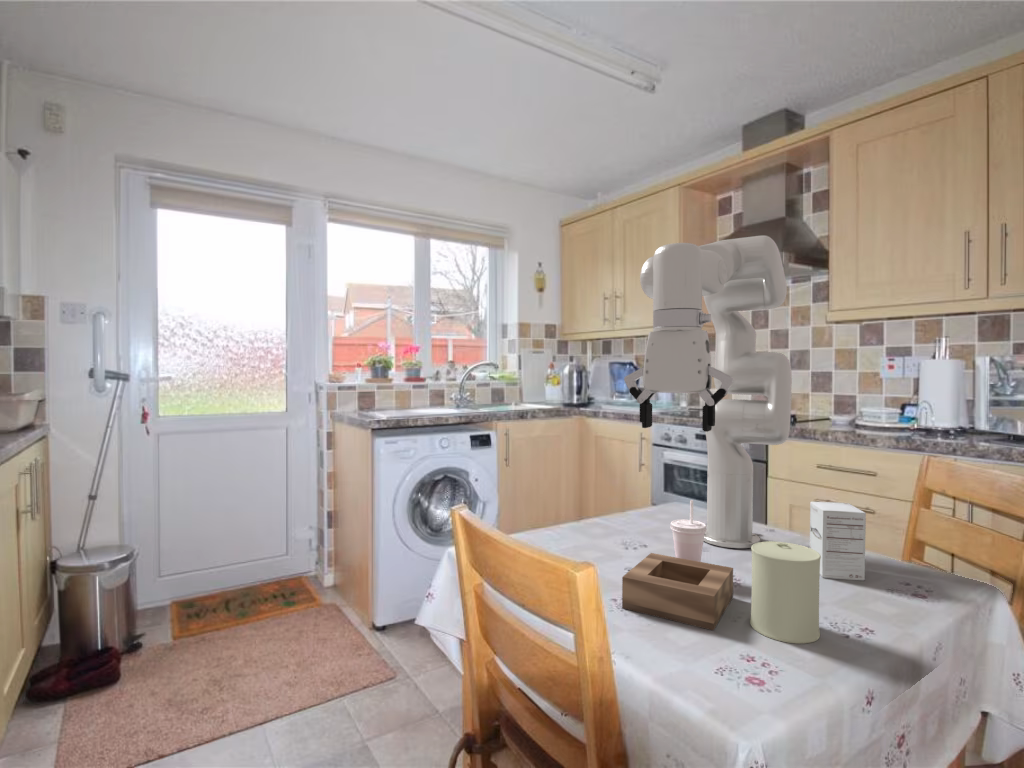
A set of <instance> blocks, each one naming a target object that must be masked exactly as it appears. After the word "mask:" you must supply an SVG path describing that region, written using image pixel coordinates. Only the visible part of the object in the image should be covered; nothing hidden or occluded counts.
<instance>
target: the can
mask: <svg viewBox="0 0 1024 768" xmlns="http://www.w3.org/2000/svg"><path fill="white" fill-rule="evenodd" d="M750 549H751V602H750V603H751V608H750V619H749V623H750V624H749V625H750V626H751V627H752V629H753V630H754V631H755V632H757V633H759V634H760V635H762V636H764V637H767V638H769V639H772V640H774V641H779V642H782V643H783V642H784V643H786V644H787V643H789V644H797V645H798V644H800V645H801V644H804V645H805V644H812V643H814V642H817V641H818V640H819V639H820V638H821V631H820V576H821V575H820V559H821V555H820V554H819V553H818V552H817V551H815V550H813V549H811V548H810V547H808V546H804V545H800V544H797V543H791V542H786V541H769V540H768V541H767V540H766V541H760V542H758V543H755V544H753V545H752V547H751V548H750Z"/></svg>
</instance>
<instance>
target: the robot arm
mask: <svg viewBox="0 0 1024 768" xmlns="http://www.w3.org/2000/svg"><path fill="white" fill-rule="evenodd" d="M784 269H785V268H784V267H783V262H782V256H781V253H780V249H779V247H778V245H777V243H776V242H775V240H774V239H773V238H771V237H770V236H768V235H755V236H748V237H747V236H745V237H739V238H738V237H737V238H730V239H729V238H728V239H722V240H718V241H714V242H711V243H706V244H702V245H697V244H695V243H690V242H674V243H667V244H664V245H661V246H659V247H658V248H657V249H656V250H655V251H654V254H653V256H650V257H649V258H647V259H646V261H645V262H644V263H643V264H642V266H641V270H640V275H639V281H640V286H641V290H642V291H643V293H644V294H645V296H646V297H648V298H649V299H652V331H649V332H648V335H647V341H646V346H645V353H644V363H643V367H641V368H639V369H637V370H635V371H633V372H631V373H629V374H628V375H626V376H624V379H623V380H624V383H625V384H626V386H627V388H628V391H629V393H630V394H631V396H632V397H633V398H634V399H635V400H636V403H638V404H639V423H641V428H642V429H647V428H651V427H652V426H653V404H652V402H651V399H652V398H653V397H654V396H655V395H656V394H657V393H660V394H661V393H664V394H669V393H670V394H698V396H699V397H700V398H701V400H702V401H703V402H704V405H703V406H702V417H701V418H702V419H701V420H702V423H701V424H702V429H701V430H702V431H703V432H705V438H706V447H707V471H706V472H707V473H706V474H707V477H706V478H707V481H706V482H707V484H706V487H707V489H706V490H707V491H706V493H707V494H706V497H707V498H706V501H707V502H706V503H707V504H706V530H707V531H706V532H705V533H704V541H703V542H705V543H708V544H710V545H713V546H716V547H720V548H728V549H751V547H752V545H753V544H755V543H758V542H761V538H760V536H758V535H757V534H755V533H753V527H754V526H753V522H754V521H753V520H754V518H753V516H754V511H753V510H754V509H753V507H754V506H753V504H754V503H753V502H754V462H753V460H752V457H751V456H750V455H749V453H748V452H747V450H746V449H745V448H744V447H743V445H742V444H750V445H751V444H754V445H767V446H769V445H771V446H778V445H783V444H784V443H785V442H787V440H788V438H789V435H790V431H791V412H792V410H791V409H792V380H793V378H792V376H793V375H792V367H791V366H792V365H791V363H790V360H789V358H788V357H787V356H786V355H785V354H783V353H780V352H775V351H774V352H773V351H761V352H760V351H759V352H758V351H756V349H757V347H756V345H757V344H756V343H757V332H756V329H755V328H754V326H753V325H752V324H751V322H750V321H749V320H748V319H746V317H745V316H743V314H741V313H740V312H741V311H757V310H760V311H761V310H772V309H776V308H779V307H780V306H782V305H783V303H785V301H786V298H787V293H788V292H787V291H788V284H787V279H786V275H785V271H784ZM703 301H704V304H705V307H706V310H707V312H708V313H704V311H703ZM711 322H712V325H713V327H714V331H715V336H716V337H715V351H714V352H715V353H714V367H713V366H712V356H711V355H712V353H711V345H710V339H709V338H710V337H709V334H708V331H707V330H705V329H704V330H703V329H702V328H703V327H704V324H706V323H708V324H709V323H711ZM642 378H643V382H642V383H643V388H644V389H643V391H642V390H641V389H640V388H639V387H638V384H637V380H639V379H642ZM713 382H714V383H713ZM713 384H714V387H715V388H716V390H717V391H715V392H714V393H713V392H712V391H711V389H712V385H713ZM727 395H738V396H739V395H742V396H744V395H746V396H750V395H751V396H764V397H766V398H767V400H762V399H761V400H759V399H757V400H755V399H753V400H752V399H751V400H750V399H737V398H736V399H732V398H731V399H730V398H729V399H727V398H726V399H723V398H725V397H726V396H727Z"/></svg>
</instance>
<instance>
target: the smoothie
mask: <svg viewBox="0 0 1024 768" xmlns="http://www.w3.org/2000/svg"><path fill="white" fill-rule="evenodd" d="M669 528H670V530H672V539H673V547H674V548H673V549H674V555H675V556H674V557H676V558H682V559H687V560H693V561H698V562H702V561H701V560H702V553H703V546H704V542H705V541H704V533H705V532H706V531H707V530H706V529H707V523H704V522H702V521H699V520H694V500H692V499H690V501H689V519H684V518H683V519H674V520H672V521H671V522H670V527H669Z"/></svg>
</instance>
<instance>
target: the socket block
mask: <svg viewBox="0 0 1024 768" xmlns="http://www.w3.org/2000/svg"><path fill="white" fill-rule="evenodd" d="M621 580H622V582H621V583H622V587H621V588H622V589H621V590H622V592H621V594H622V595H621V596H622V597H621V604H622V605H621V609H624V610H629V611H633V612H635V613H640V614H645V615H647V616H648V615H649V616H654V617H657V618H661V619H665V620H668V621H669V620H670V621H674V622H676V623H677V622H678V623H682V624H685V625H690V626H693V627H697V628H701V629H707V630H709V631H714V630H715V629H716V628H717V625H718V624H719V622H720V620H721V619H722V617H723V615H724V613H725V612H726V610H727V608H728V607H729V605H730V604H731V602H732V600H733V599H734V567H731V566H730V567H729V566H724V565H720V564H713V563H708V562H702V561H701V562H698V561H693V560H687V559H682V558H676V557H675V556H669V555H664V554H659V553H653V552H650V553H649V554H648V555H647V556H645V558H643V559H642V560H641V561H639V562H638V563H637V564H636V565H635V566H634V567H632V568H631V569H629V571H628V572H627V573H625V574H624V575H623V576H622V579H621Z"/></svg>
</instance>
